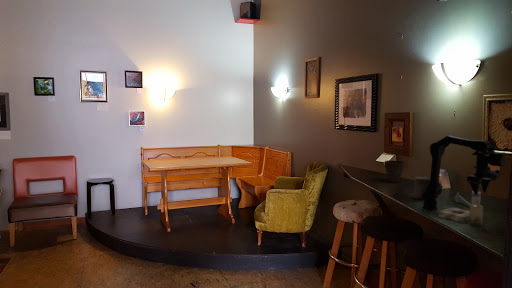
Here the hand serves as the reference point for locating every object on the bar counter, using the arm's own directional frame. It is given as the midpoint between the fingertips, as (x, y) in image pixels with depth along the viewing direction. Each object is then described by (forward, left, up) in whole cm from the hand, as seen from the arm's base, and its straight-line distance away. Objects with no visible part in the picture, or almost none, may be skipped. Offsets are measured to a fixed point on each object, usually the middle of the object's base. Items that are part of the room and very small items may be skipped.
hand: (480, 193), depth 209 cm
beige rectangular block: (+3, -9, -15) cm, 17 cm away
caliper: (-19, +24, -15) cm, 34 cm away
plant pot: (-89, +50, -15) cm, 103 cm away
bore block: (-9, -4, -15) cm, 18 cm away
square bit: (-6, +9, -15) cm, 18 cm away
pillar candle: (-45, +19, -15) cm, 51 cm away
